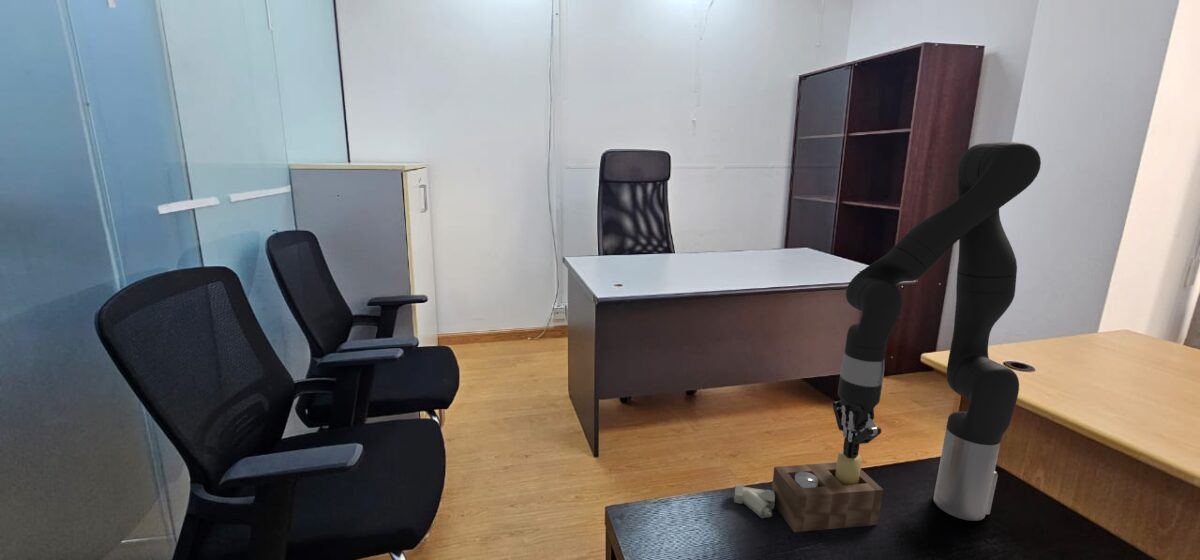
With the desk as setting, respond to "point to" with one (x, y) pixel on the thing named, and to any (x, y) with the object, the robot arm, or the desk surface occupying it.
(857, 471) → the mustard peg
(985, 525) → the desk surface
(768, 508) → the pipe fitting
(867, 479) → the socket block
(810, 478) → the steel peg
